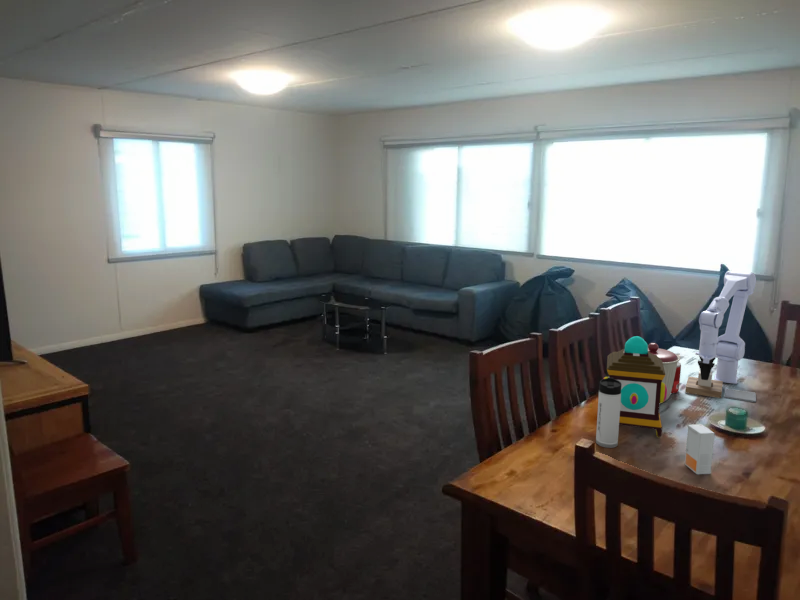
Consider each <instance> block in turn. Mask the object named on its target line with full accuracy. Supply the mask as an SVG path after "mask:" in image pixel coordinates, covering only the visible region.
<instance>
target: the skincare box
mask: <svg viewBox="0 0 800 600" xmlns="http://www.w3.org/2000/svg"><path fill="white" fill-rule="evenodd" d="M686 434H687V435H686V444H685V445H686V446H685V453H684V454H685V456H684V465H685V466H686V467H687V468H689V469H690V470H691V471H692V472H693V473H695V474H696V475H710V474H711V473H712V463H713V452H714V444H715V432H713V431H712V430H711V429H710V428H709V427H706V426H705V425H703V424H702V423H701V424H688V425H687V433H686Z"/></svg>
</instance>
